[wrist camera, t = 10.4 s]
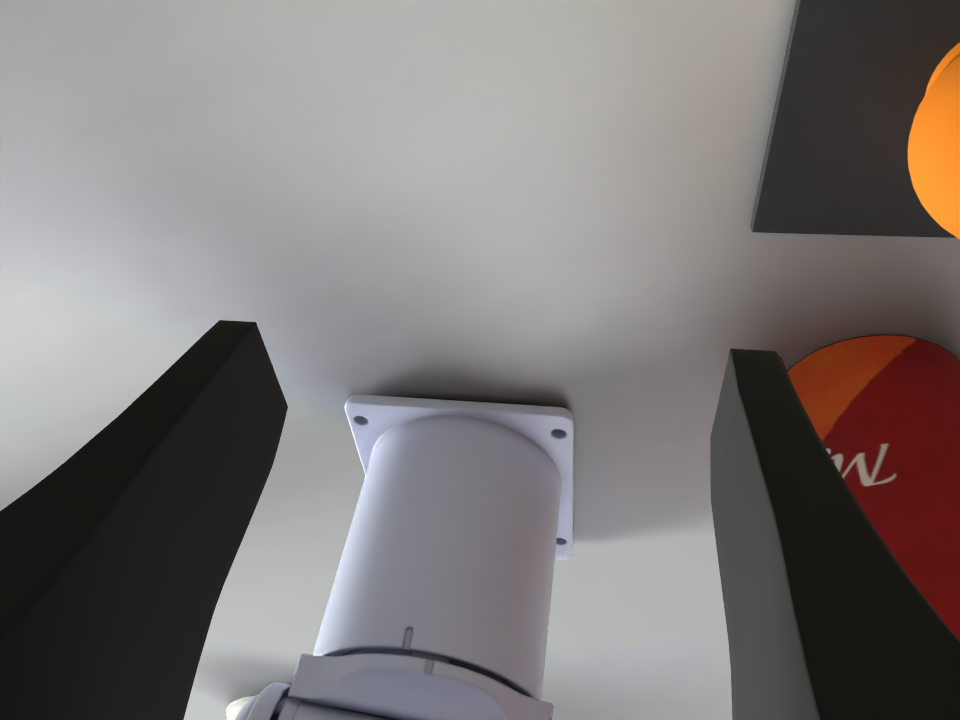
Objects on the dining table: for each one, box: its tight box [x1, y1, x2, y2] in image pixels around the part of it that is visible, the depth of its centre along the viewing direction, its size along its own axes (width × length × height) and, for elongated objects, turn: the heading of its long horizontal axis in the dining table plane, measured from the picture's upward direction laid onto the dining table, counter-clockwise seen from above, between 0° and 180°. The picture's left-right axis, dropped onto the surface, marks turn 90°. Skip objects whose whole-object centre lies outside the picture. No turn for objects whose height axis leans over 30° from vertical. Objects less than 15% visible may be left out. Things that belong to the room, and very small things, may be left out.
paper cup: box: [787, 335, 960, 641], centre depth 20 cm, size 8×8×14 cm
